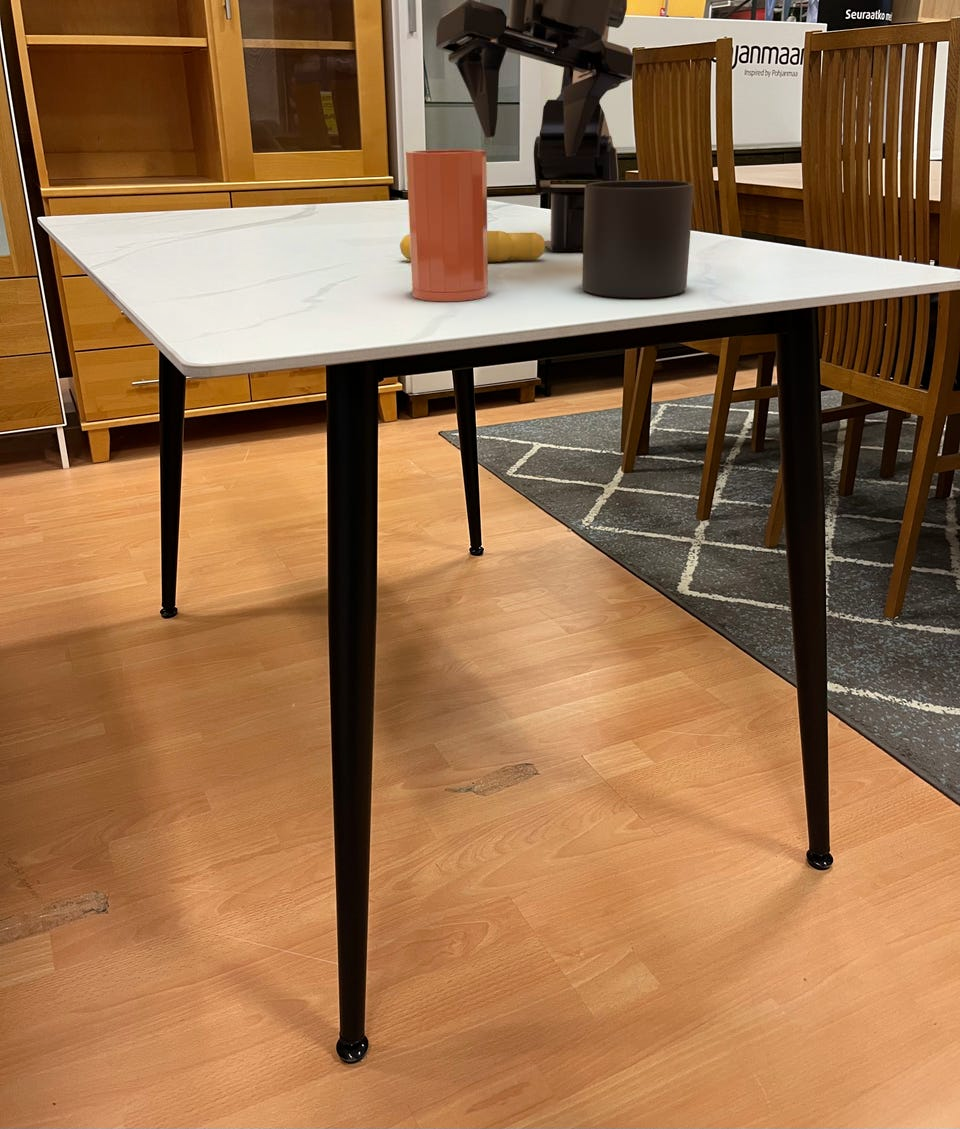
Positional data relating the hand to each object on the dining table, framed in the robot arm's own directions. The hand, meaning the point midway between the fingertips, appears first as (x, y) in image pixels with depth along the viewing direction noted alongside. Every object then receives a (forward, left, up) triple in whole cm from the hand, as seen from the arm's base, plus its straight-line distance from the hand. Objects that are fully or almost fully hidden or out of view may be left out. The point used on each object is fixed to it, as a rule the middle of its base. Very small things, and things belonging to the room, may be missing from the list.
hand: (531, 146), depth 90 cm
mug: (+8, +8, -12) cm, 17 cm away
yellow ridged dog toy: (-12, -5, -12) cm, 17 cm away
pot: (+8, -9, -12) cm, 17 cm away
